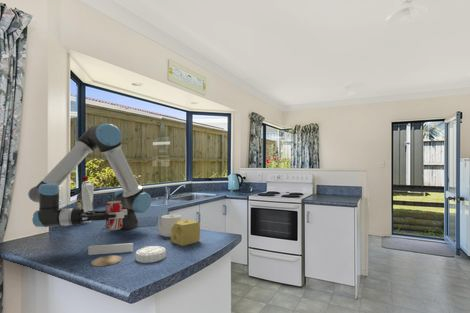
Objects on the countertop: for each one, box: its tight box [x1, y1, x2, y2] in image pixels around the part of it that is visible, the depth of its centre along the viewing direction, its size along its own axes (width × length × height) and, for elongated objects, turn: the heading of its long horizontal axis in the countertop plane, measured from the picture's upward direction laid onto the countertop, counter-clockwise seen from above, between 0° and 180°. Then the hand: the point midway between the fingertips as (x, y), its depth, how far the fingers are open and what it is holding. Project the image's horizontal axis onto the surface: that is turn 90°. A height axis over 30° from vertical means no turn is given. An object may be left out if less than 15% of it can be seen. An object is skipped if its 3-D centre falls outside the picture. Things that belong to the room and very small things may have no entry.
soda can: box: [105, 200, 122, 231], centre depth 129 cm, size 7×7×13 cm
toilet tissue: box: [158, 213, 182, 238], centre depth 148 cm, size 11×12×10 cm
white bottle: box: [79, 180, 95, 223], centre depth 182 cm, size 8×8×28 cm
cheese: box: [170, 219, 201, 247], centre depth 134 cm, size 10×11×10 cm
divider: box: [88, 242, 134, 256], centre depth 119 cm, size 18×1×4 cm, turn 101°
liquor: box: [76, 176, 94, 209], centre depth 195 cm, size 9×9×30 cm
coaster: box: [91, 254, 122, 268], centre depth 108 cm, size 11×11×1 cm
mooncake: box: [135, 245, 167, 264], centre depth 112 cm, size 12×12×4 cm
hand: (125, 213), depth 130 cm, fingers closed on soda can, 6 cm apart
